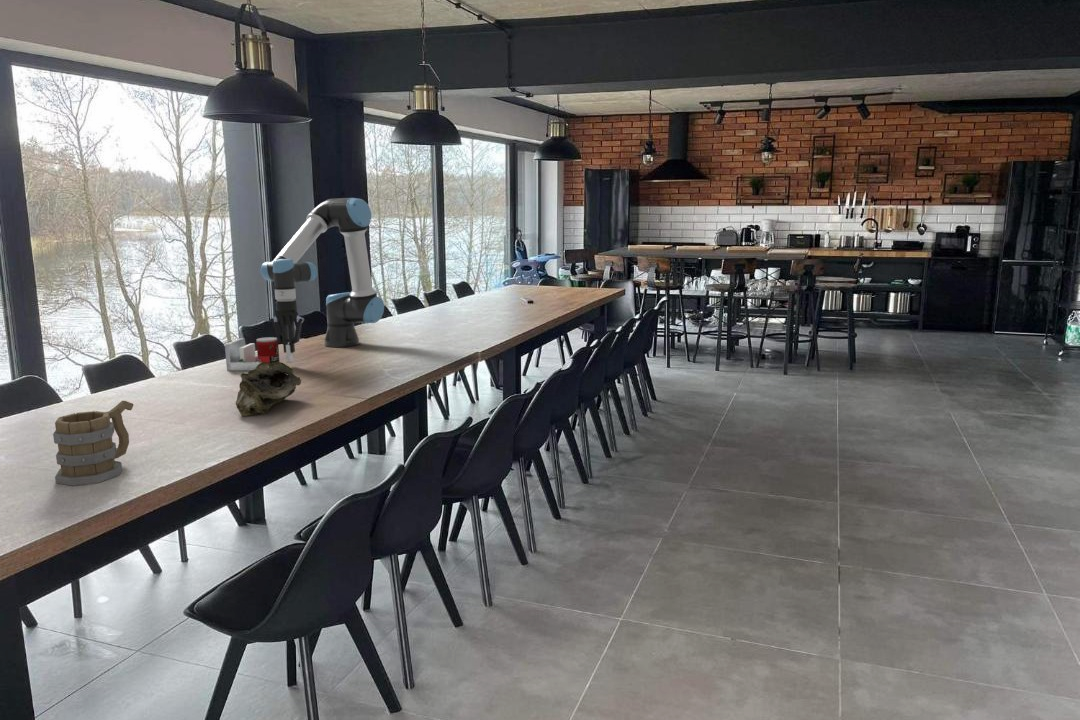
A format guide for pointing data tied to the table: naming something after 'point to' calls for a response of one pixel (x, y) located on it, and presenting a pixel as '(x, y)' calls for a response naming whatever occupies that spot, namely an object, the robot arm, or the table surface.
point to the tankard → (90, 445)
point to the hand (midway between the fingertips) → (290, 360)
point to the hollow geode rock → (265, 387)
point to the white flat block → (247, 353)
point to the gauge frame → (238, 356)
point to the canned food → (268, 350)
